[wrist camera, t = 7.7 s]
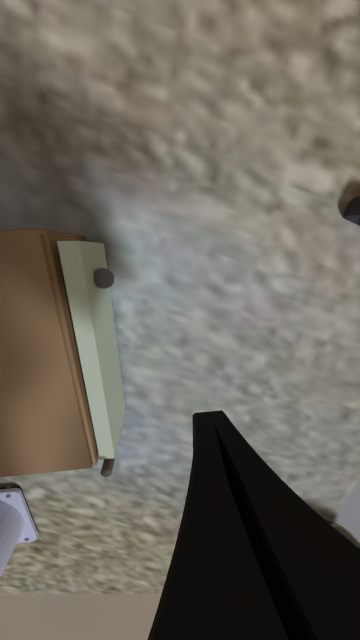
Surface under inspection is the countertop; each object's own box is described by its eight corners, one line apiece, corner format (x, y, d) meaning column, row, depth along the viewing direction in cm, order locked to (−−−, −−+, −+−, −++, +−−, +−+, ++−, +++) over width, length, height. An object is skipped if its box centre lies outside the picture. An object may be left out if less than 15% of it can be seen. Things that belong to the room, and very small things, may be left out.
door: (136, 408, 19) (129, 456, 14) (114, 410, 19) (99, 459, 14) (119, 243, 14) (100, 240, 10) (89, 243, 14) (56, 241, 10)
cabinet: (10, 423, 19) (-50, 493, 13) (-58, 239, 14) (-195, 233, 8) (125, 414, 19) (112, 476, 14) (100, 236, 14) (66, 228, 9)
